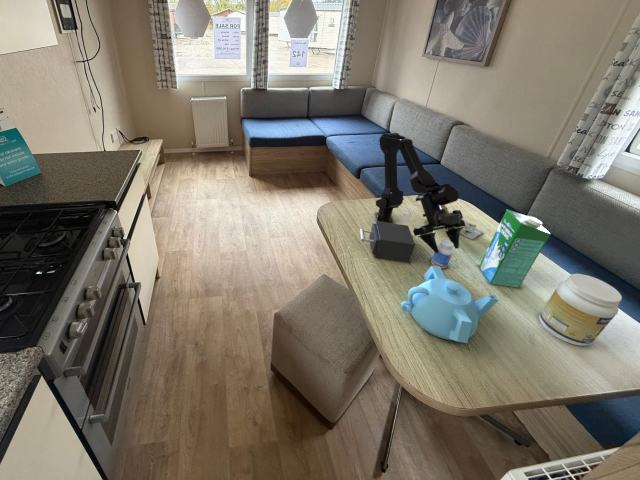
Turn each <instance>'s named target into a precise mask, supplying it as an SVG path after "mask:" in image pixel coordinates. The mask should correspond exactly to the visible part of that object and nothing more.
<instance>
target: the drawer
mask: <svg viewBox="0 0 640 480" xmlns="http://www.w3.org/2000/svg"><path fill="white" fill-rule="evenodd" d="M370 228H371V229H370V230H366V229H363V228H360V229H359V235H360V241H361V242H363V243H364V242H370V249H371V254H372V255H373V256H375V255H376V251H377V247H378V244H379V235H378V232H377V227H376V223H372V225H371V227H370ZM365 233H368V234H369V238H366V237H365Z"/></svg>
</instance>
